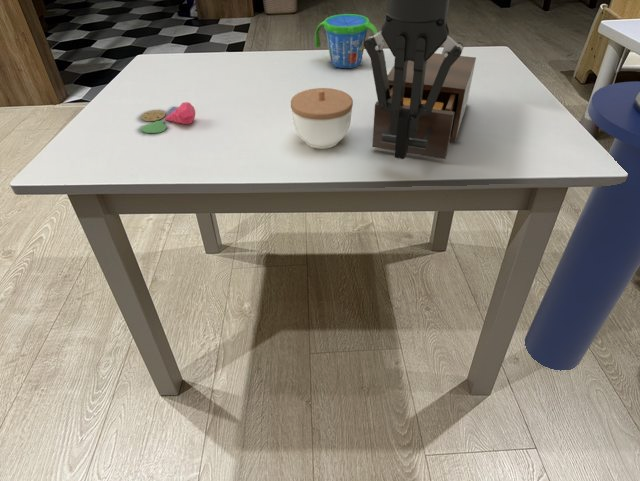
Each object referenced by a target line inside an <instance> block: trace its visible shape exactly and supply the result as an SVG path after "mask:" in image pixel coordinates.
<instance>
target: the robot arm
mask: <svg viewBox="0 0 640 481" xmlns="http://www.w3.org/2000/svg"><path fill="white" fill-rule="evenodd" d="M449 6H450V0H386V10H385V19H384V22H383V24H382V25H381V29H380V31H377V32H378V33H377V34H375V35H374V33H372V34H370V35H369V36H368V37H366V39H365V42H364V50H365V52H366V53H367V54H368V57H369V58H370V65H371V69H372V75H373V81H374V86H375V93H376V97H377V101H378V104H379V108H380V109H381V110H386V111H388V112H389V113H390V114H391V124H390V134H391V135H396V145H395V151H394V156H393V157H394V159H399V160H405V158H406V156H407V154H408V153H407V151H408V144H409V137H410V138H414V137H415V135H416V133H417V129H418V122H419V117H420V116H429V115H430V114H431V112H432V109H433V107H434V105H435V102H436V100H437V97H438V95H439V93H440V90H441V88H442V86H443V83H444V81H445V78H446V76H447V74H448V71H449V69H450V67H451V66H452V64H453V63H454V62H455V61H456V60H457V59H458V58H459V57H460V56H462V53H463V51H464V47H465V45H464V44H463V42H461V41H458V42H457V41H455V39H454V38H452V37H451V36H450V35H449V34H450V30H449V27H448V24H447V18H448V12H449ZM385 43H386V45H387V47H388V49H389V51H390V52H391V54H392V56H393V57H394V64H393V67H394V68H395V71H394V82H393V94H392V99H391V95H390V89H389V82H388V76H387V75H388V71H387V65H386V63H387V62H386V58H385V52H384V48H385ZM441 46H442V47H443V49H442V51H441V54H442V56H443V57H444V60H443V62H442V64H441V66H440V69H439V71H438V74H437V76H436V79H435V81H434V83H433V86H432V88H431V91H430V93H429V96H428V98H427V101H426V103H424V104H421V102H422V94H423V87H424V79H425V71H426V64H427V60H428V59H429V58H430V57H431V56H432V55H433V54H434V53H437V51H438V50H439V48H441ZM408 61H413V62H414V68H413V70H414V73H413V82H412V91H411V100H410V109H409V111H406V110H402V107H403V105H404V104H403V100H404V91H405V82H406V72H407V63H408ZM634 108H635V109H636V110H637V111H638V112H639V113H640V92H639V93H638V95H637V97H636V99H635V101H634Z"/></svg>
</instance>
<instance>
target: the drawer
mask: <svg viewBox="0 0 640 481" xmlns="http://www.w3.org/2000/svg"><path fill="white" fill-rule="evenodd" d="M411 91H412V88H409V87H405V91H404V98H411ZM430 91H431V90H425V89H423V94H422V100H426V101H427V98H428V96H429V93H430ZM392 94H393V86H392V88H391V90H390V95H391V99H392ZM457 99H458V94H457V93H449V92H441V91H440V93H439V95H438V97H437V100H436V102H441V103H444V106H443V110H437V109H432V112H431V114H430V115H429V116H420V117H419V122H418V129H417V133H416V135H415V137H414V138H410V137H409V144H408V151H407V153H406V154H411V155H418V156H423V157H429V158H434V159H435V158H436V159H441V160H446V159H447V155H448V152H449V151H448V150H449V146H450V145H449V144H450V141H449V140H450V135H451V129H452V124H453V120H454V115H455V110H456V104H457ZM409 109H410V106H408V105H403V107H402V110H406V111H409ZM373 115H374V116H373V131H372V148H375V149H382V150H388V151H392V152H395V145H396V135H391V134H390V124H391V114H390V113H389V112H388V111H386V110H381V109H380V108H379V104H378V100H377V101H376V102H375V104H374V113H373Z"/></svg>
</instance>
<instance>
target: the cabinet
mask: <svg viewBox="0 0 640 481" xmlns="http://www.w3.org/2000/svg"><path fill="white" fill-rule="evenodd" d="M443 60H444V57H443V56H442V53H437V52H435V53H434V54H433V55H432V56H431V57H430V58H429V59H428V60H427V64H426V71H425V79H424V87H423V89H425V90H431V88H432V86H433V83H434V81H435V79H436V76H437V74H438V71H439V69H440V66H441V64H442V62H443ZM476 61H477V57H474V56H466V55H460V57H459V58H458V59H457V60H456V61H455V62H454V63H453V64H452V66H451V67H450V69H449V71H448V74H447V76H446V78H445V81H444V83H443V86H442V88H441V90H440V91H441V92H449V93H457V94H458V99H457V104H456V110H455V115H454V120H453V124H452V129H451V135H450V140H449V142H451V143H452V142H453V143H456V141H457V138H458V134H459V131H460V128H461V125H462V121H463V119H464V115H465V112H466V108H467V105H468V100H469V95H470V90H471V85H472V81H473V75H474V70H475V65H476ZM413 68H414V62H413V61H408V63H407V72H406V82H405V87H409V88H412V82H413V73H414V70H413ZM394 71H395V68H394V66H393V67H392V68H391V69H390V71H389V72H388V73H387V76H388V82H389V89H390V90H391V88H392V86H393V82H394Z"/></svg>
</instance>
